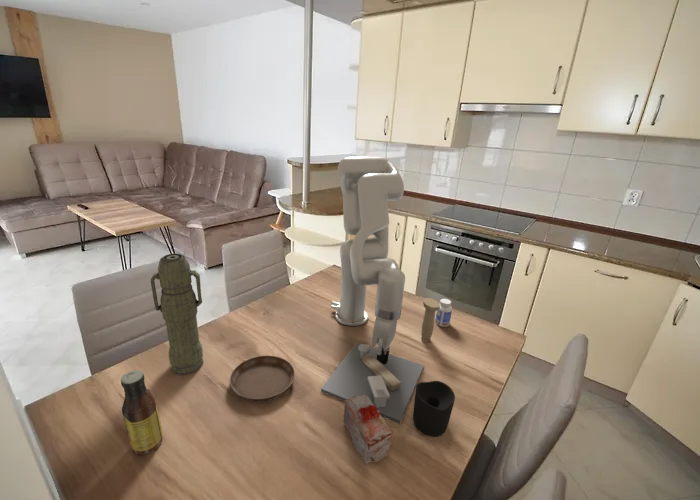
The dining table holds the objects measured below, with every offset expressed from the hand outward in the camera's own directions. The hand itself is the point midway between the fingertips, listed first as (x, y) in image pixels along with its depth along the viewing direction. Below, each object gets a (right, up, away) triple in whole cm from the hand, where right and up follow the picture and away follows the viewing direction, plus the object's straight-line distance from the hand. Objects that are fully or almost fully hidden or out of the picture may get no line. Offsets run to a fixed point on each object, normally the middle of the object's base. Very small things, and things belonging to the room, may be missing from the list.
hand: (382, 361), depth 106 cm
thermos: (-58, 0, -3) cm, 58 cm away
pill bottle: (+26, +6, +26) cm, 37 cm away
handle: (+17, +2, +16) cm, 23 cm away
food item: (-6, -11, -24) cm, 27 cm away
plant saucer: (-35, -4, -8) cm, 36 cm away
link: (-1, -2, -4) cm, 5 cm away
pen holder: (+10, -10, -18) cm, 23 cm away
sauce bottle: (-56, -10, -28) cm, 63 cm away
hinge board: (-2, -4, -4) cm, 6 cm away
